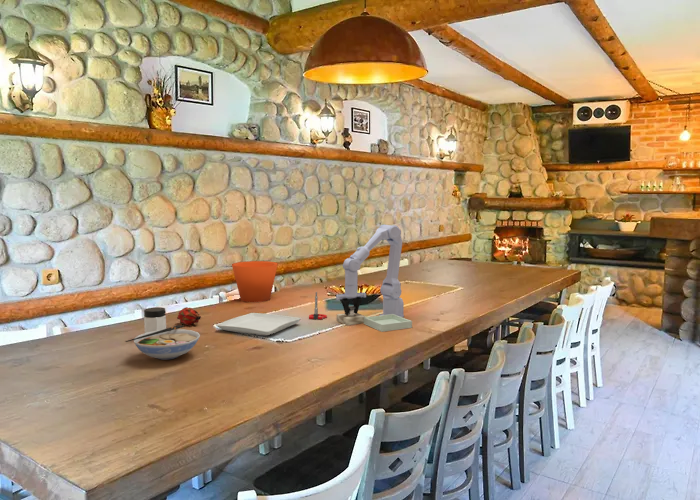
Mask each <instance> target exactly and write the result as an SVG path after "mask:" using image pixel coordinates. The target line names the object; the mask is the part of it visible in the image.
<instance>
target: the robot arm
mask: <svg viewBox="0 0 700 500" xmlns="http://www.w3.org/2000/svg"><path fill="white" fill-rule="evenodd" d="M384 240H386V242H387V243H388V244H389V245H390V246H389V253H388V261H387V270H386V277H385V278H384V279H383V280H382V285H381V286H380V288H379V289H380V294H381V295H382V299H383V300H382V313H380V314H379V316H380V315H388V314H394V315H397V316H400V317H403V318H405V315H404V311H405V310H404V309H405V308H404V306H405V304H404V300H403V298H402V297H401V295H402V288H401V282H400V280H399V272H400V265H401V255H402V248H403V239H402V230H401V229H400V228H399V227H398V226H397V225H395V224H381V225H379V227H378V228H376V231H375V232H374V234H373V235H372V237H370V238H369V239H368V241H367V242H366V243H365V245H364V246H362V245H361V246H359V247H357V248H356V250H355V252H354V253H352V254H351V255H350V256H349V257H347V258H346V259H344V261H343V264H342V268H343V270H344V293H342V294H336V295H335V298H336V299H335V300H337V301H340V303H341V305H342V307H343V311H344V313H345V314H346V315H348V313H349V306H350V299H352V302H353V306H355V307H356V308H355V309H354V313H355V314H357V313H358V312H359V308H360V306H361V304H362V302H363V298H367V293H366V292H358V290H359V289H358V286H359V285H358V278H359V277H358V274H359V273H358V271H360V269H361V265H362V263H364V261H365V260H366V259H367V258H368V257H369V256H370V251H372V250H373V248H375V247H376V246H377V245H378V244H379V243H380V242H381V241H384Z"/></svg>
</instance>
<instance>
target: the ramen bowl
mask: <svg viewBox="0 0 700 500" xmlns="http://www.w3.org/2000/svg"><path fill="white" fill-rule="evenodd" d="M184 325H185V324H183V325H182V324H177V325H174V326H170V327H168V328H167V327H166V329H164V330H158V331H152V332H147V333H145V332H144V333H142V334H138V335H137V336H135V337H134V338H132V339H128V340H125V341H124V342H126V343H127V342H131V341H133V343H134V344H135V347H137V349H138V350H139V351H140V352H141V353H142V354H144V355H146V356H148V357H150V358H155V359H158V360H162V361H163V360H164V361H166V360H174V359H176V358H179V357H180V356H182V355H184V354H187V353H188V352H190V351H191V350H192V349H193V348H194V347H195V345H197V342H198V341H199V339H200V336H201V334H200V333H199V332H198V331H196V330H195V331H194V330H191V329H184ZM182 328H183V329H182Z"/></svg>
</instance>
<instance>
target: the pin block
mask: <svg viewBox="0 0 700 500" xmlns="http://www.w3.org/2000/svg"><path fill="white" fill-rule="evenodd" d="M364 317H367V316H366V315H363V314H361V313H358V312H357V314H355V313H354V316H351V317H349V316H348V315H346V314H345V312H344V313H337V314H336V321H337V322H339V323H341V324H343V325H345V326H353V325H361V324H364Z"/></svg>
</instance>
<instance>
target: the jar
mask: <svg viewBox="0 0 700 500" xmlns="http://www.w3.org/2000/svg"><path fill="white" fill-rule="evenodd" d="M166 311H167V310H166V308H165V307H161V306H156V307H154V306H153V307H148V308H145V309H144V310H143V321H144V322H143V325H144V333H147V332H152V331H158V330H164V329H167V315H166Z"/></svg>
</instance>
